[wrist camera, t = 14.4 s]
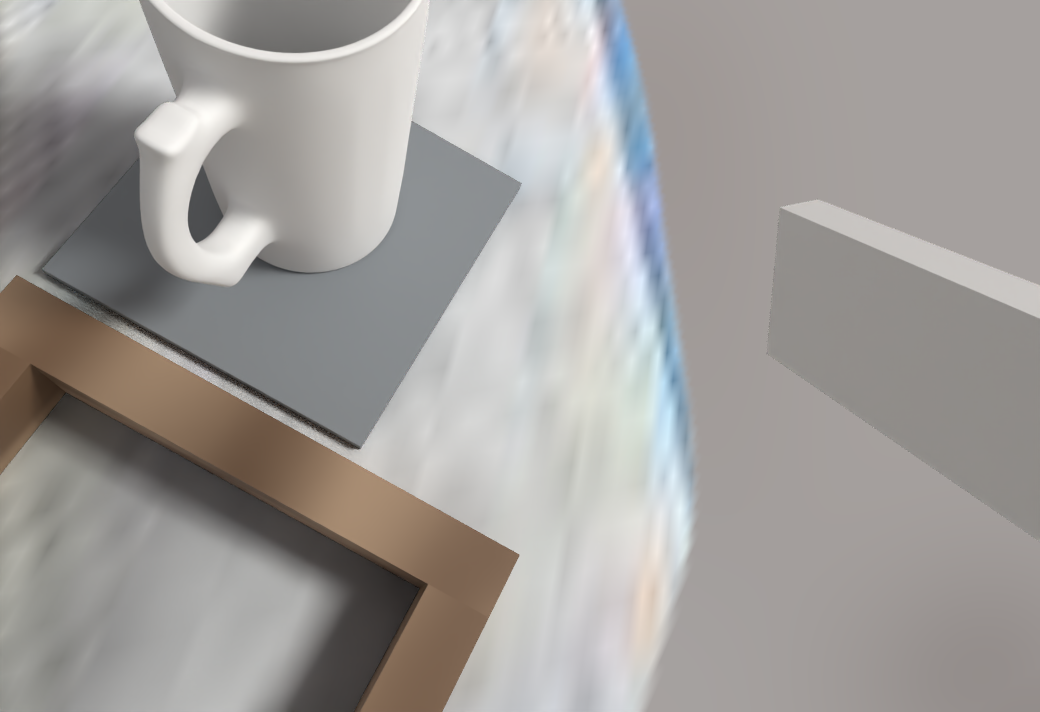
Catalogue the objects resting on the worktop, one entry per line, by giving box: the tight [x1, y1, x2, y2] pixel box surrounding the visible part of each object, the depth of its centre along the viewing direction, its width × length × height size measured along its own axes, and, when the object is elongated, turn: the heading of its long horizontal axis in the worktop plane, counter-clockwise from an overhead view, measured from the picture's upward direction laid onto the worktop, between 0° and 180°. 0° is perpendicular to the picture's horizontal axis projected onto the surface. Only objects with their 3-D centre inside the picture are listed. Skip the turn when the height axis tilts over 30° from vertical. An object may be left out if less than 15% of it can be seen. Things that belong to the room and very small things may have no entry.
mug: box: [134, 0, 430, 287], centre depth 22 cm, size 10×7×12 cm, turn 154°
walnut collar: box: [0, 275, 519, 712], centre depth 21 cm, size 17×17×3 cm
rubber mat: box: [42, 121, 522, 449], centre depth 28 cm, size 12×12×1 cm
